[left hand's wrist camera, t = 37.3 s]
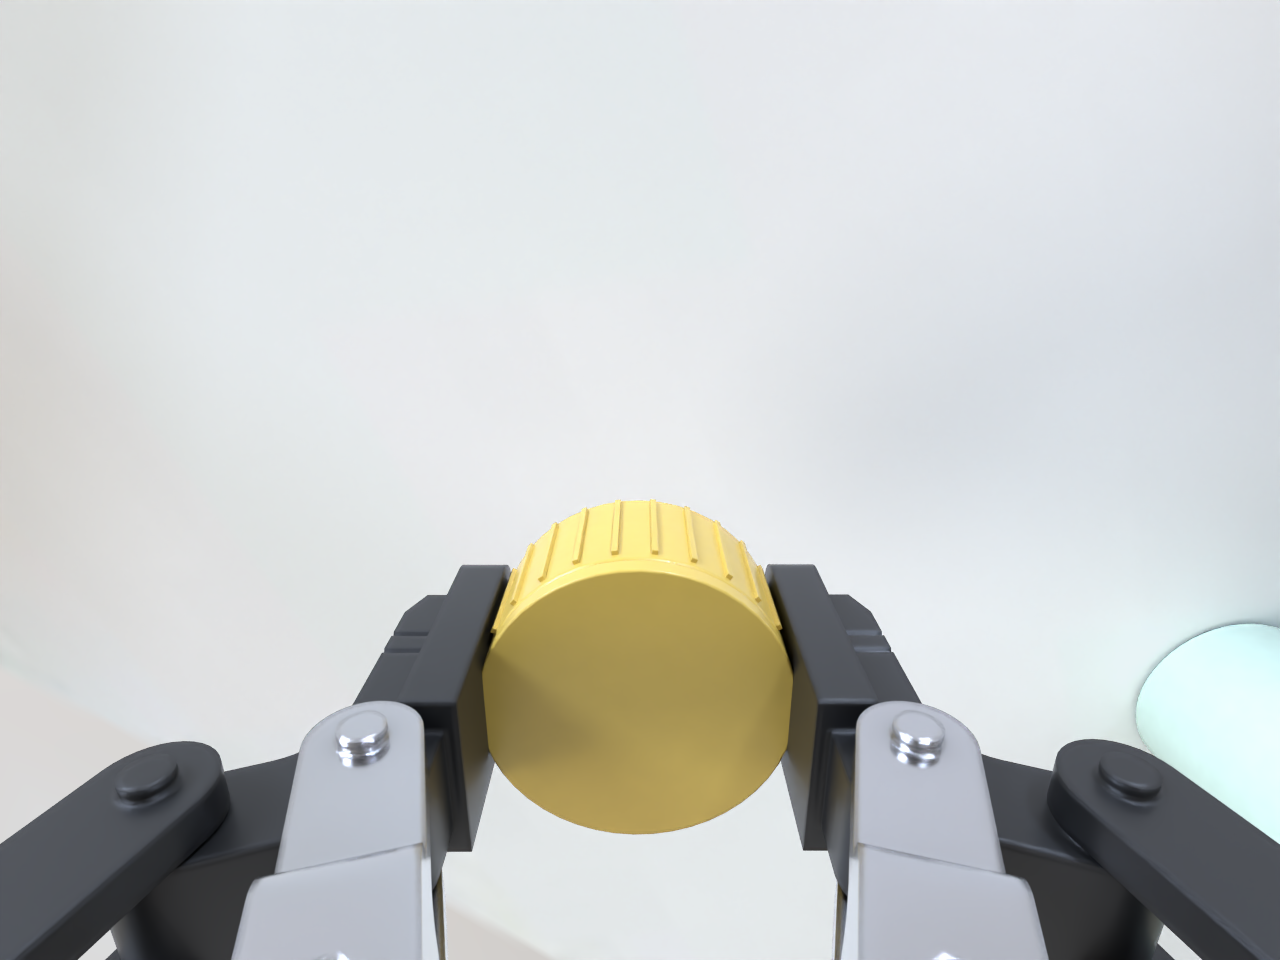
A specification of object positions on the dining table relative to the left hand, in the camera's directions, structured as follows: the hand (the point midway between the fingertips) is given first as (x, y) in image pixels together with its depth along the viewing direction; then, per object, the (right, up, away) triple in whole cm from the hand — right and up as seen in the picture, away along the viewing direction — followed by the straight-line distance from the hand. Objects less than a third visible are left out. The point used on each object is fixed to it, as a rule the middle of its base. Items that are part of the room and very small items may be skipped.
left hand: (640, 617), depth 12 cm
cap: (0, -1, -2) cm, 2 cm away
